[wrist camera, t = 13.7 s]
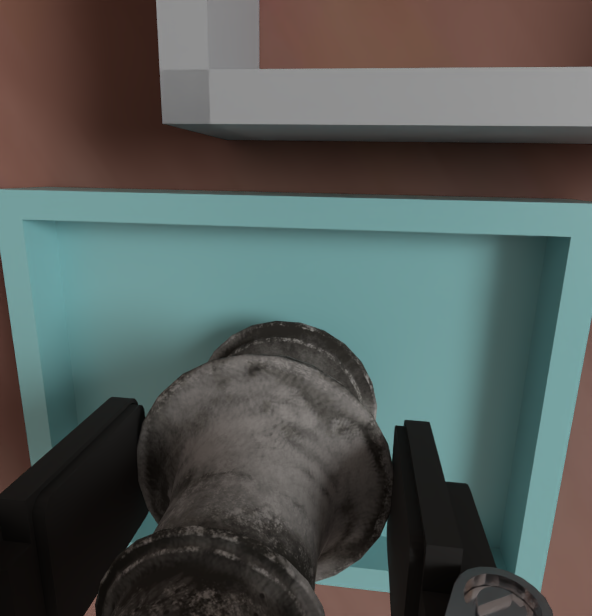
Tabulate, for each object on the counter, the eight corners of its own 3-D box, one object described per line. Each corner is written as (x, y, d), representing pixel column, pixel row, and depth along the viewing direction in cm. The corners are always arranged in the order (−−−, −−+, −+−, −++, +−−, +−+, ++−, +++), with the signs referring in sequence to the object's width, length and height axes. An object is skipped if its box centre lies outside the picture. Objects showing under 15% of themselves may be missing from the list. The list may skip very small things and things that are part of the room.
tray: (569, 198, 14) (612, 204, 12) (512, 549, 17) (536, 609, 15) (47, 186, 16) (-9, 189, 13) (83, 504, 19) (43, 551, 17)
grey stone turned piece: (425, 367, 13) (782, 1494, 2) (332, 524, 15) (233, 1620, 4) (232, 274, 13) (-527, 848, 2) (161, 442, 15) (-462, 1264, 4)
